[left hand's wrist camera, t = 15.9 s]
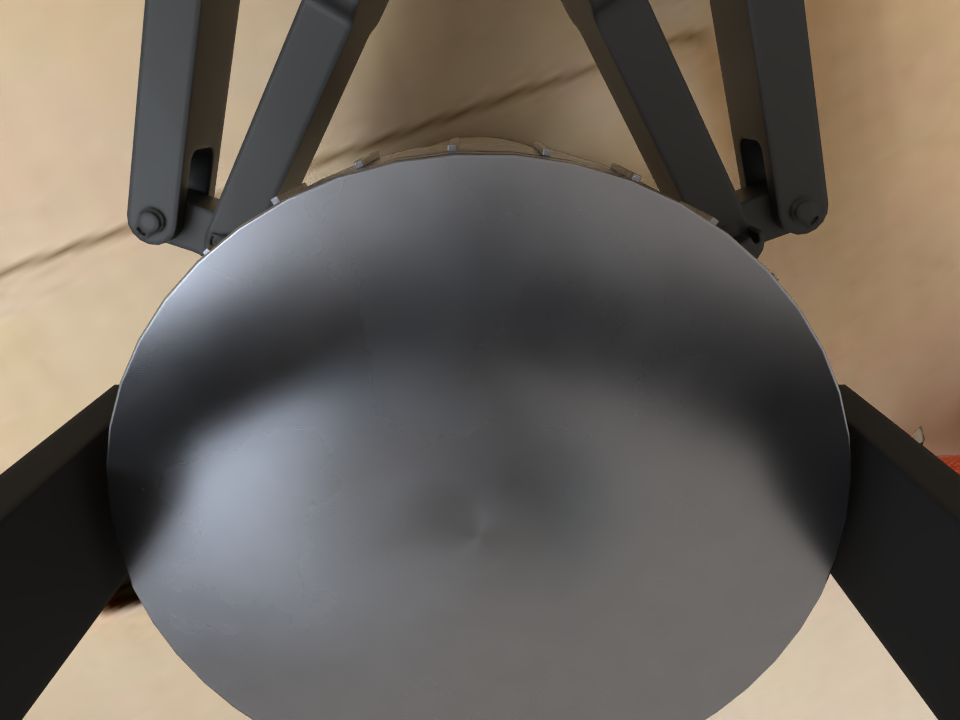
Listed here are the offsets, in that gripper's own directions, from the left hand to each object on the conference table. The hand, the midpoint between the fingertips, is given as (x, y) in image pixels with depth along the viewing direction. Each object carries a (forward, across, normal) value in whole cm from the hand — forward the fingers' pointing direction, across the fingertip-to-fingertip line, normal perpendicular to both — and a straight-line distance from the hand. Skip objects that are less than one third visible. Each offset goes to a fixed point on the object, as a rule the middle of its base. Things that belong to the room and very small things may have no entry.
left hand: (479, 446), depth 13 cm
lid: (-2, 0, 0) cm, 2 cm away
